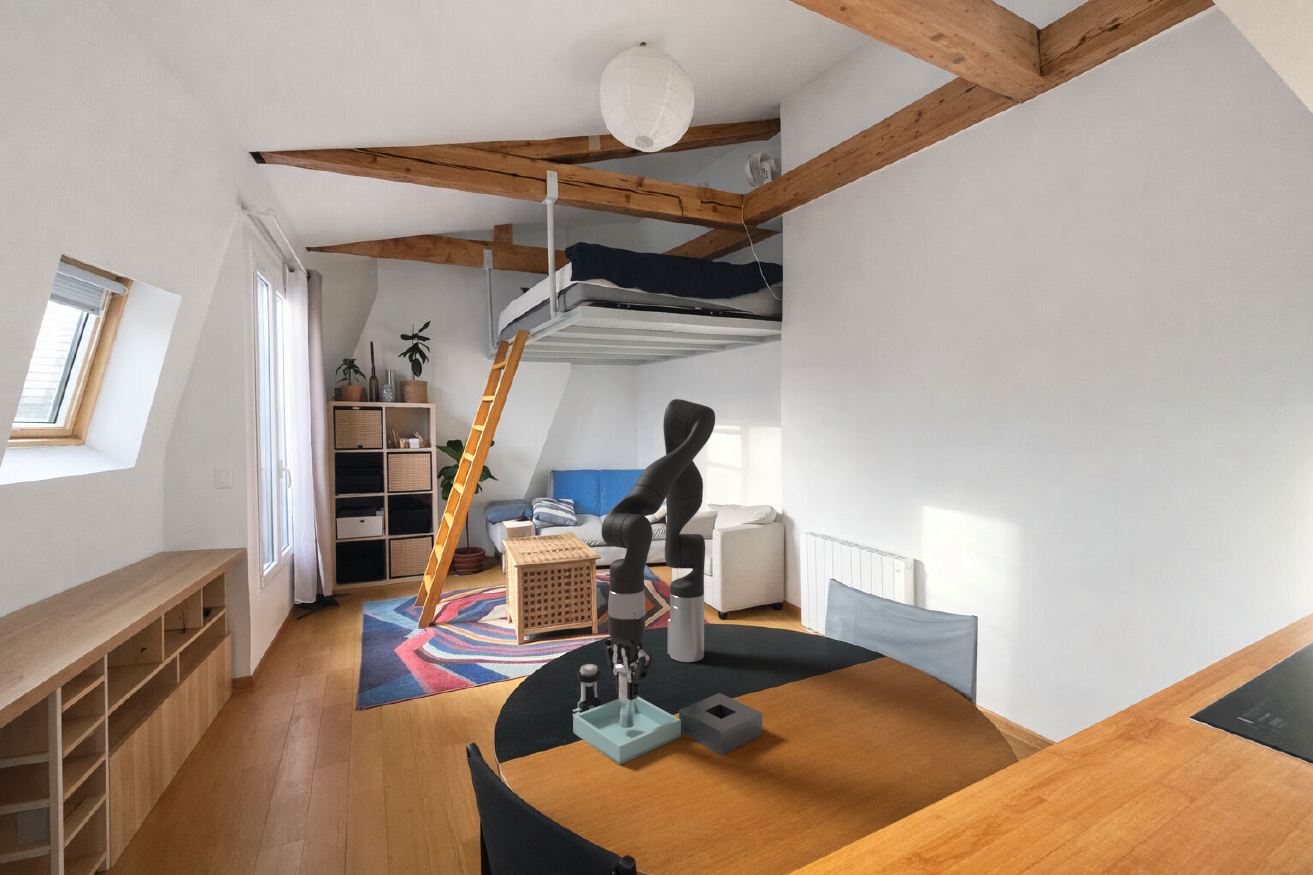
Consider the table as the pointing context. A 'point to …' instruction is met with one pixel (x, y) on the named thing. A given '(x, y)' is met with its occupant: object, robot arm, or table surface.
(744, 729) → the hitch block
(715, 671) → the table surface
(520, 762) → the table surface
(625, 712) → the steel pin
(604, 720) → the tray
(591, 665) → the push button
